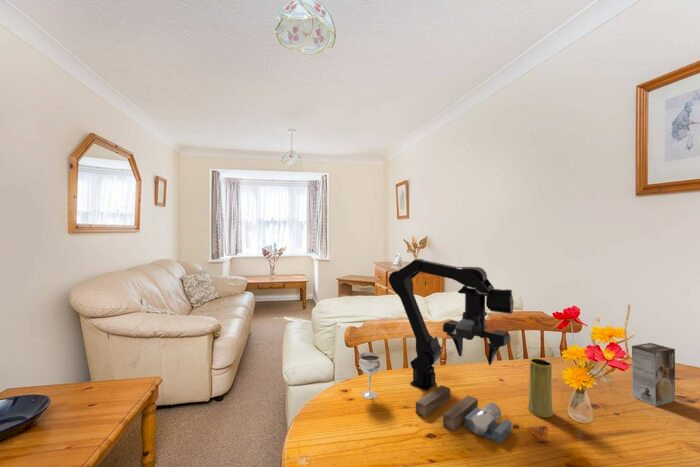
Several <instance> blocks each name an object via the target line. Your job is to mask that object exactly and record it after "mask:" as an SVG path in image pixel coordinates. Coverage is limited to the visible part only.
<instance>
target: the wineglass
mask: <svg viewBox="0 0 700 467" xmlns="http://www.w3.org/2000/svg"><path fill="white" fill-rule="evenodd" d="M358 357H359V360H358V365H359V369H360V370H361V371H362V372H363V373H364V374H367V376H368V378H367V379H368V390H365V391H362V392H361V396H362V398H364V399H367V400H373V399H376V398H377V397H378V393H377V392H375V391H373V390H371V380H372V377H371V376H372V375H373V374H376V373H377V372H378V371H379V369H380V367H381V360H380V359H381V355H380V354H378V353H375V352H362V353H360V354H359V355H358Z"/></svg>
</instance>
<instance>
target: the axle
mask: <svg viewBox="0 0 700 467" xmlns="http://www.w3.org/2000/svg"><path fill="white" fill-rule="evenodd" d="M480 409H481V410H480V411H479V412H478V413H477V414H476V415H474V416H473V417H472V418H471V419H470V421H469V425H470V428H471V429H472V431H471V432H473V433H474V434H476V435H478V436H482V435H483V434H484V433H485V432H486V431H487V430H488V429H489V428H490V427H491V426H492V425H493V424H494V423H495V422H497V421H498V420H499V419H500V418H501V416H502V412H501V409H500V407H499V406H498V405H497V404H496V403H493V402H489V403H487V404H485V406H483V407H482V408H480Z"/></svg>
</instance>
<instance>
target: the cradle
mask: <svg viewBox="0 0 700 467" xmlns="http://www.w3.org/2000/svg"><path fill="white" fill-rule="evenodd" d="M481 409H482V408H479V407H478V408H477V407H476V408H475V409H474V410H473V411H472V412H470V413H469V414H468V415H467V416H466V417H465V422H464V423H463V424H464V428H465V429H467V430H469V431H471V432H473V431H472V429H471V428H470V425H469V421H470V419H471V418H472V417H473V416H474V415H476V414H477V413H478V412H479V411H480V410H481ZM512 423H513V422H512V421H511V420H509V419H504V420H502V422H501V423H500V422H497V421H496V422H495V423H494V424H493V425H492V426H491V427H490V428H489V429H488V430H487V431H486V432H485V433H484V434H483V435H481V436H482V437H484V438H487V439H488V440H491V441H492V442H495V443H497V444H498V445H499V444H500V445H501V444H502V443H503V442H504V441H505V440H506V439H507V438H508V436H509V435H510V434H511V433H512V428H513V425H512Z"/></svg>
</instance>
